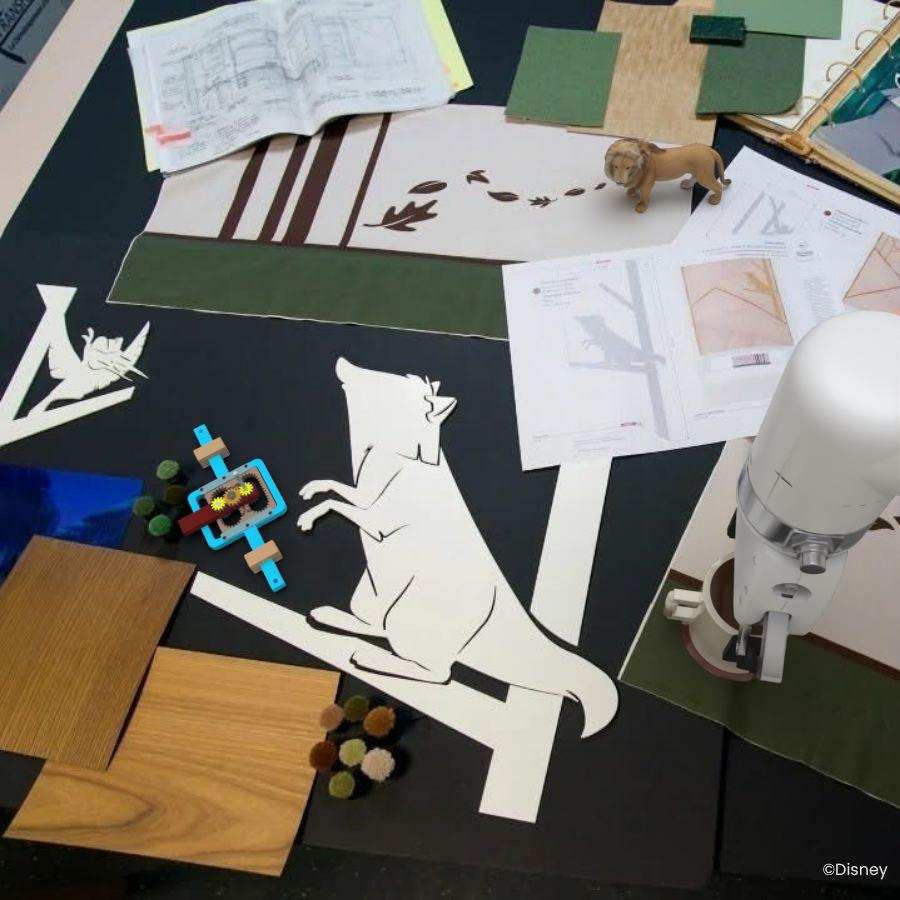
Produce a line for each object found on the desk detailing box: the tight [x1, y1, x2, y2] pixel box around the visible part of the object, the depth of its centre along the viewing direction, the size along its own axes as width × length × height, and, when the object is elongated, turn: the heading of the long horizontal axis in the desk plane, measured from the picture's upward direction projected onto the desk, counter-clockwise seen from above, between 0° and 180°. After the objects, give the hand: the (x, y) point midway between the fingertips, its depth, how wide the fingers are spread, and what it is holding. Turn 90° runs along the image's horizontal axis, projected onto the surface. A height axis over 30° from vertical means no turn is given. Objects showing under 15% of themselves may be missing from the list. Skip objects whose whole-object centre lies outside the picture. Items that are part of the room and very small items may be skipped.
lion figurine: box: [603, 137, 733, 213], centre depth 92 cm, size 15×5×9 cm, turn 100°
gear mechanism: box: [177, 423, 288, 593], centre depth 80 cm, size 20×5×9 cm
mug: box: [662, 550, 791, 674], centre depth 67 cm, size 10×7×8 cm
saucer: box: [680, 589, 789, 682], centre depth 71 cm, size 13×13×1 cm
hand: (746, 595), depth 64 cm, fingers open, 9 cm apart
